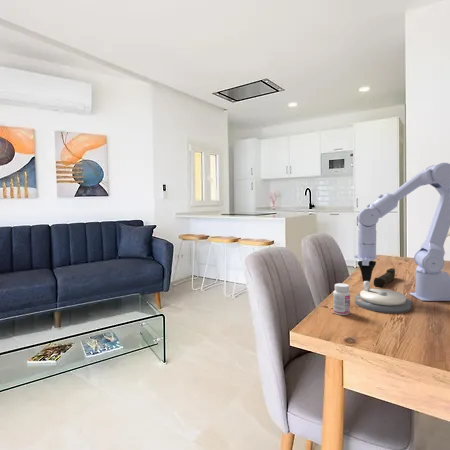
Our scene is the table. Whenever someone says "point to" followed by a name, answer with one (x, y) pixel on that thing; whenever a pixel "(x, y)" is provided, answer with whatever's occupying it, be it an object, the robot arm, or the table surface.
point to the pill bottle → (341, 299)
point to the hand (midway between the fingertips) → (366, 282)
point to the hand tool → (385, 278)
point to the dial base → (383, 306)
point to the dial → (381, 296)
